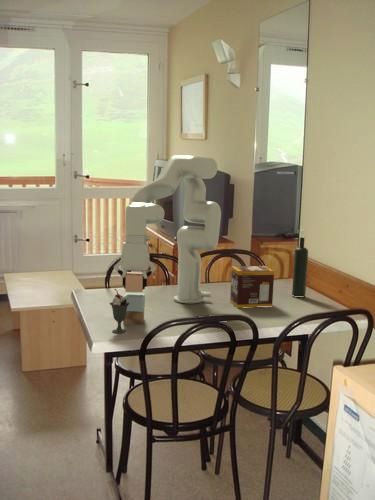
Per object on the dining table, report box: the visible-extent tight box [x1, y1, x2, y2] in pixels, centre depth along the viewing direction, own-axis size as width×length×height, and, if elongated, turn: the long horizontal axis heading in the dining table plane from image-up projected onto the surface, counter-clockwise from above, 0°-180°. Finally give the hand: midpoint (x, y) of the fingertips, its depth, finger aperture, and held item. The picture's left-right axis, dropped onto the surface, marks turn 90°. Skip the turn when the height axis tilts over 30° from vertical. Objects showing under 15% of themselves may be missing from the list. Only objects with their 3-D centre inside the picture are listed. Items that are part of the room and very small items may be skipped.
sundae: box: [109, 288, 129, 335], centre depth 206 cm, size 7×7×15 cm
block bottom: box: [122, 309, 145, 326], centre depth 219 cm, size 7×7×5 cm
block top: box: [123, 292, 146, 312], centre depth 218 cm, size 7×7×5 cm
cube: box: [124, 271, 144, 293], centre depth 217 cm, size 6×6×6 cm
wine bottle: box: [291, 229, 309, 297], centre depth 264 cm, size 6×6×30 cm
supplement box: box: [229, 265, 275, 309], centre depth 248 cm, size 10×15×16 cm
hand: (134, 287), depth 218 cm, fingers closed on cube, 6 cm apart
